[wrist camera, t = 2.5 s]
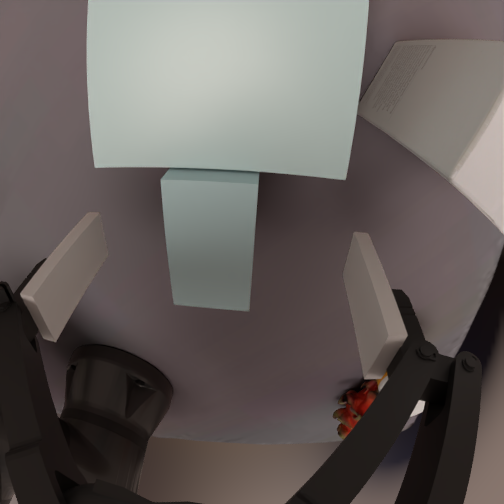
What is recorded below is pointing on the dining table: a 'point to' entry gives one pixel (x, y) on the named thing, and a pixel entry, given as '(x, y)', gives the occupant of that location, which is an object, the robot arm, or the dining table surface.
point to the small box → (447, 112)
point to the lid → (222, 115)
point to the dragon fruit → (355, 407)
